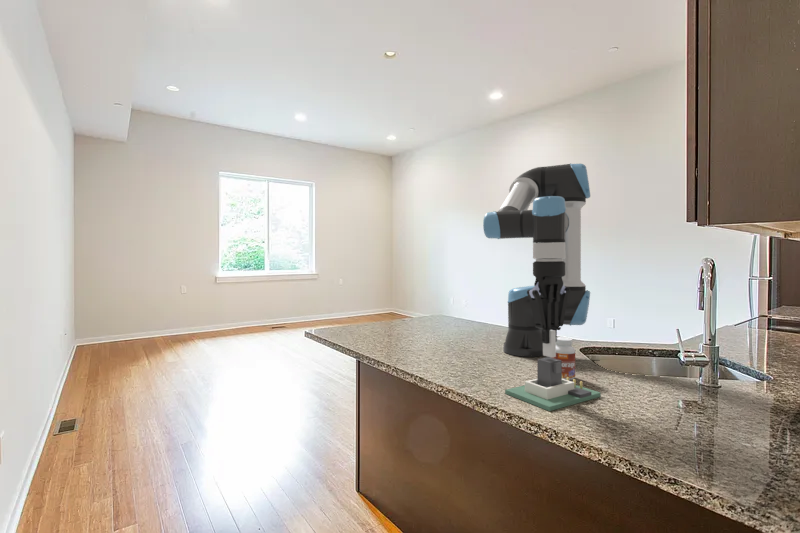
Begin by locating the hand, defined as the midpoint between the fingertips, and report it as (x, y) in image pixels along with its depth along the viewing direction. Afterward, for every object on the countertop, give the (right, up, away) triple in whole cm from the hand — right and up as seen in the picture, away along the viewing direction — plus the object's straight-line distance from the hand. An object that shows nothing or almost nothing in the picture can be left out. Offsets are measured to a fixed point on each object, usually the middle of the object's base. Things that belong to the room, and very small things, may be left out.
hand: (549, 355), depth 105 cm
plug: (0, -9, 0) cm, 9 cm away
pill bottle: (+9, -10, +15) cm, 20 cm away
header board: (+1, -10, +1) cm, 10 cm away
